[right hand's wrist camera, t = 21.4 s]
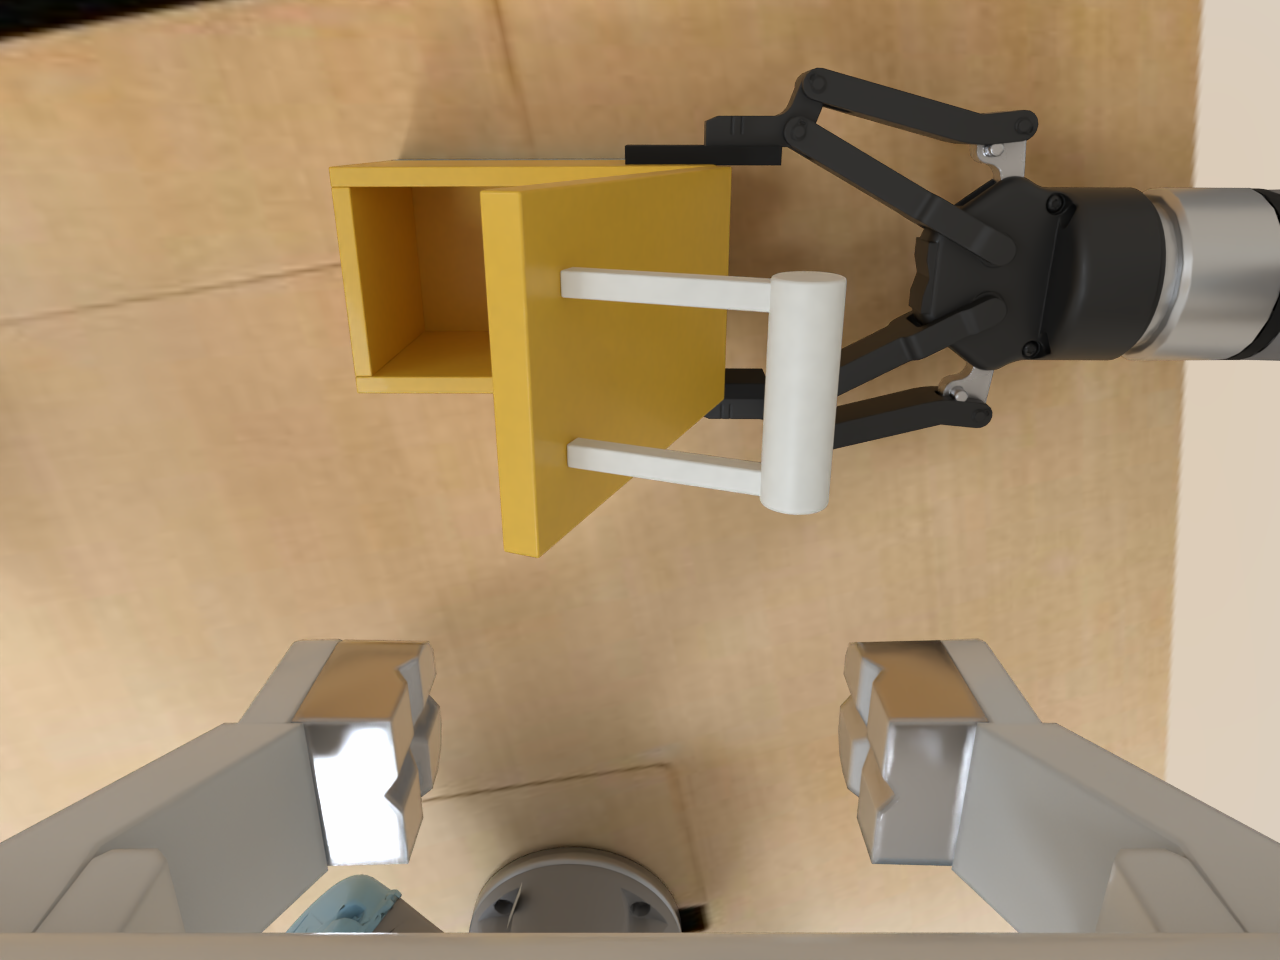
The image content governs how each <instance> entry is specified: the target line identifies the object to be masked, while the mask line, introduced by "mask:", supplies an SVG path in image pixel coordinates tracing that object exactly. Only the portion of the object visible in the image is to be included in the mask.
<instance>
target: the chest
mask: <svg viewBox="0 0 1280 960" xmlns="http://www.w3.org/2000/svg"><path fill="white" fill-rule="evenodd" d="M704 166H716V165H714V164H660V165H625V159H398V160H391V161H382V162H372V163H362V164H353V165H343V166H334V167H329V174H330V182H331V186H332V197H333V205H334V213H335V220H336V228H337V236H338V244H339V252H340V260H341V268H342V276H343V283H344V291H345V299H346V307H347V315H348V323H349V331H350V339H351V346H352V354H353V362H354V370H355V376H356V386H357V392H358V393H493V381H492V366H491V352H490V337H489V322H488V307H487V292H486V278H485V263H484V248H483V233H482V218H481V204H480V191H482V190H486V189H495V188H505V187H514V186H524V185H533V184H543V183H552V182H562V181H571V180H581V179H590V178H600V177H609V176H619V175H628V174H638V173H647V172H657V171H666V170H676V169H685V168H695V167H704Z"/></svg>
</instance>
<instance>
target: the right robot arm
mask: <svg viewBox="0 0 1280 960" xmlns="http://www.w3.org/2000/svg"><path fill="white" fill-rule="evenodd" d="M435 676H436V667H435V659H434V652H433V648H432V646H431V645H430V643H429V641H390V640H341V639H308V640H299V641H296V642H294V643H293V644H292V645H291V646H290V648H289V649H288V651H287V652H286V654H285V655H284V657H283V658H282V660H281V661H280V662H279V664H278V665H277V667H276V668H275V670H274V671H273V673H272V674H271V675H270V677H269V678H268V680H267V681H266V683H265V684H264V686H263V687H262V689H261V690H260V691H259V693H258V694H257V696H256V697H255V699H254V700H253V702H252V703H251V704H250V706H249V707H248V709H247V710H246V712H245V713H244V715H243V716H242V718H241V719H240V720H239V722H238V723H223V724H221V725H219V726H218V727H216V728H214V729H212V730H210V731H208V732H206V733H205V734H203V735H201V736H199V737H197V738H195V739H193V740H191V741H190V742H188V743H186V744H184V745H182V746H180V747H178V748H177V749H175V750H173V751H171V752H169V753H167V754H165V755H163V756H162V757H160V758H158V759H156V760H154V761H152V762H150V763H149V764H147V765H145V766H143V767H141V768H139V769H137V770H136V771H134V772H132V773H130V774H128V775H126V776H124V777H122V778H121V779H119V780H117V781H115V782H113V783H111V784H109V785H108V786H106V787H104V788H102V789H100V790H98V791H96V792H94V793H93V794H91V795H89V796H87V797H85V798H83V799H81V800H80V801H78V802H76V803H74V804H72V805H70V806H68V807H66V808H65V809H63V810H61V811H59V812H57V813H55V814H53V815H52V816H50V817H48V818H46V819H44V820H42V821H40V822H38V823H37V824H35V825H33V826H31V827H29V828H27V829H25V830H24V831H22V832H20V833H18V834H16V835H14V836H12V837H10V838H9V839H7V840H5V841H3V842H1V843H0V960H1280V843H1278V842H1276V841H1274V840H1273V839H1271V838H1269V837H1267V836H1265V835H1263V834H1261V833H1260V832H1258V831H1256V830H1254V829H1252V828H1250V827H1248V826H1246V825H1245V824H1243V823H1241V822H1239V821H1237V820H1235V819H1233V818H1232V817H1230V816H1228V815H1226V814H1224V813H1222V812H1220V811H1219V810H1217V809H1215V808H1213V807H1211V806H1209V805H1207V804H1206V803H1204V802H1202V801H1200V800H1198V799H1196V798H1194V797H1192V796H1191V795H1189V794H1187V793H1185V792H1183V791H1181V790H1180V789H1178V788H1176V787H1174V786H1172V785H1170V784H1168V783H1167V782H1165V781H1163V780H1161V779H1159V778H1157V777H1155V776H1153V775H1152V774H1150V773H1148V772H1146V771H1144V770H1142V769H1140V768H1139V767H1137V766H1135V765H1133V764H1131V763H1129V762H1127V761H1126V760H1124V759H1122V758H1120V757H1118V756H1116V755H1114V754H1113V753H1111V752H1109V751H1107V750H1105V749H1103V748H1101V747H1100V746H1098V745H1096V744H1094V743H1092V742H1090V741H1088V740H1087V739H1085V738H1083V737H1081V736H1079V735H1077V734H1075V733H1074V732H1072V731H1070V730H1068V729H1066V728H1064V727H1062V726H1060V725H1059V724H1057V723H1042V722H1041V721H1040V719H1039V718H1038V716H1037V715H1036V713H1035V712H1034V710H1033V709H1032V708H1031V706H1030V705H1029V703H1028V702H1027V700H1026V699H1025V698H1024V696H1023V695H1022V693H1021V692H1020V690H1019V689H1018V688H1017V686H1016V685H1015V683H1014V682H1013V680H1012V679H1011V677H1010V676H1009V675H1008V673H1007V672H1006V670H1005V669H1004V667H1003V666H1002V665H1001V663H1000V662H999V660H998V659H997V657H996V656H995V655H994V653H993V652H992V650H991V649H990V647H989V646H988V644H987V643H986V642H984V641H982V640H980V639H957V640H932V641H892V642H854V643H849V645H848V649H847V652H846V657H845V666H844V676H845V679H846V682H847V685H848V687H849V690H850V693H851V695H850V696H849V697H848V699H847V700H846V701H845V702H844V703H843V704H842V705H841V706H840V717H839V754H840V760H841V765H842V771H843V775H844V778H845V781H846V785H847V788H848V789H849V790H850V791H851V792H853V793H854V794H855V795H857V796H858V797H859V801H858V811H857V820H858V823H859V826H860V829H861V832H862V835H863V838H864V841H865V844H866V847H867V850H868V853H869V856H870V859H871V862H872V864H903V865H939V866H952V870H953V871H954V872H955V873H956V874H957V875H958V876H959V877H960V878H961V879H962V880H963V881H964V882H965V883H967V884H968V885H969V886H970V887H971V888H972V889H973V890H974V891H975V892H976V893H977V894H978V895H979V896H980V897H981V898H982V899H984V900H985V901H986V902H987V903H988V904H989V905H990V906H991V907H992V908H993V909H994V910H995V911H996V912H997V913H998V914H999V915H1001V916H1002V917H1003V918H1004V919H1005V920H1006V921H1007V922H1008V923H1009V924H1010V925H1011V926H1012V927H1013V928H1014V929H1015V930H1016V931H1017V932H1019V933H262V932H263V931H264V930H265V929H266V928H267V927H268V926H269V925H270V924H271V923H272V922H273V921H275V920H276V919H277V918H278V917H279V916H280V915H281V914H282V913H283V912H284V911H285V910H286V909H287V908H288V907H289V906H291V905H292V904H293V903H294V902H295V901H296V900H297V899H298V898H299V897H300V896H301V895H302V894H303V893H304V892H305V891H306V890H308V889H309V888H310V887H311V886H312V885H313V884H314V883H315V882H316V881H317V880H318V879H319V878H320V877H321V876H322V875H324V874H325V873H326V872H327V871H328V866H340V865H375V864H408V863H409V860H410V857H411V853H412V850H413V847H414V844H415V841H416V838H417V835H418V832H419V829H420V826H421V823H422V820H423V811H422V802H421V797H422V796H423V795H425V794H426V793H427V792H429V791H430V790H431V789H432V788H433V785H434V781H435V778H436V774H437V771H438V765H439V758H440V750H441V715H440V706H439V705H438V704H437V703H436V702H435V701H434V700H433V699H432V697H431V696H430V695H429V693H430V690H431V687H432V685H433V682H434V679H435Z"/></svg>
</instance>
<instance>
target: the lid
mask: <svg viewBox="0 0 1280 960" xmlns="http://www.w3.org/2000/svg"><path fill="white" fill-rule="evenodd" d="M731 174H732V168H731V167H726V166H704V167H695V168H685V169H676V170H666V171H657V172H647V173H638V174H628V175H619V176H609V177H600V178H590V179H581V180H571V181H562V182H552V183H543V184H533V185H524V186H514V187H505V188H495V189H486V190H482V191H480V204H481V218H482V233H483V248H484V263H485V278H486V292H487V307H488V322H489V337H490V352H491V366H492V381H493V396H494V411H495V426H496V440H497V455H498V470H499V485H500V500H501V514H502V529H503V544H504V551H505V552H510V553H515V554H520V555H525V556H530V557H535V558H539V557H541V556H542V555H543V554H544V553H545V552H547V551H548V550H549V549H550V548H551V547H552V546H553V545H555V544H556V543H557V542H558V541H559V540H560V539H562V538H563V537H564V536H565V535H566V534H567V533H569V532H570V531H571V530H572V529H573V528H574V527H576V526H577V525H578V524H579V523H580V522H581V521H583V520H584V519H585V518H586V517H587V516H588V515H590V514H591V513H592V512H593V511H594V510H595V509H597V508H598V507H599V506H600V505H601V504H602V503H604V502H605V501H606V500H607V499H608V498H609V497H611V496H612V495H613V494H614V493H615V492H616V491H618V490H619V489H620V488H621V487H622V486H623V485H624V484H626V483H627V482H628V481H629V480H630V479H631V478H633V477H637V478H644V479H651V480H657V481H664V482H671V483H677V484H684V485H690V486H697V487H704V488H710V489H717V490H723V491H730V492H737V493H743V494H750V495H757V496H759V498H760V501H761V503H762V504H763V505H764V506H765V507H766V508H768V509H770V510H773V511H776V512H780V513H784V514H793V515H805V514H812V513H817V512H819V511H822V510H823V509H825V508H826V506H827V505H828V502H829V489H830V477H831V465H832V453H833V441H834V429H835V417H836V405H837V393H838V381H839V369H840V357H841V345H842V333H843V321H844V309H845V297H846V285H847V280H846V278H845V277H844V276H842V275H839V274H835V273H828V272H816V271H792V272H782V273H778V274H775V275H773V276H772V277H771V278H754V277H737V276H728V264H729V234H730V204H731ZM727 309H728V310H742V311H756V312H769V321H768V340H767V360H766V379H765V399H764V418H763V438H762V457H761V463H760V462H753V461H746V460H738V459H731V458H724V457H716V456H709V455H702V454H694V453H687V452H680V451H672V450H665V449H666V448H668V447H669V446H670V445H671V444H672V443H673V442H675V441H676V440H677V439H678V438H679V437H680V436H682V435H683V434H684V433H685V432H686V431H687V430H689V429H690V428H691V427H692V426H693V425H694V424H696V423H697V422H698V421H699V420H700V419H701V418H702V417H704V416H705V415H706V414H707V413H708V412H709V411H711V410H712V409H713V408H714V407H715V406H716V405H718V404H719V403H720V402H721V401H722V400H723V399H724V384H725V354H726V324H727Z"/></svg>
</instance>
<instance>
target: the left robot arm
mask: <svg viewBox="0 0 1280 960" xmlns="http://www.w3.org/2000/svg"><path fill="white" fill-rule="evenodd" d="M822 107H825V108H829V109H832V110H836V111H839V112H843V113H846V114H850V115H853V116H857V117H860V118H864V119H867V120H871V121H874V122H878V123H881V124H885V125H888V126H892V127H895V128H899V129H902V130H906V131H909V132H913V133H916V134H920V135H923V136H927V137H930V138H934V139H937V140H941V141H945V142H950V143H957V144H970V155H971V158H972V159H973V160H974V161H976V162H978V163H983V164H986V165H988V166H989V167H990V168H991V169H992V172H993V179H991V180H990V181H988V182H987V183H985V184H984V185H982V186H981V187H979V188H978V189H977V190H975V191H974V192H972V193H971V194H969V195H968V196H966V197H965V198H963V199H962V200H961V201H959V202H958V203H956V204H955V205H953V204H951V203H949V202H948V201H946V200H944V199H943V198H941V197H939V196H937V195H935V194H933V193H931V192H929V191H927V190H926V189H924V188H922V187H921V186H919V185H917V184H916V183H914V182H912V181H911V180H909V179H907V178H906V177H904V176H902V175H901V174H899V173H897V172H896V171H894V170H892V169H891V168H889V167H887V166H886V165H884V164H882V163H881V162H879V161H877V160H876V159H874V158H872V157H871V156H869V155H867V154H866V153H864V152H862V151H861V150H859V149H857V148H856V147H854V146H852V145H851V144H849V143H847V142H846V141H844V140H842V139H841V138H839V137H837V136H836V135H834V134H832V133H831V132H829V131H827V130H826V129H824V128H822V127H821V126H819V125H817V124H816V122H817V119H818V117H819V114H820V112H821V109H822ZM1037 127H1038V118H1037V117H1036V115H1035V114H1034V113H1033V112H1031V111H1028V110H1016V111H1000V112H991V113H981V114H980V113H976V112H973V111H969V110H966V109H963V108H959V107H956V106H952V105H949V104H945V103H942V102H938V101H935V100H931V99H928V98H924V97H921V96H917V95H914V94H911V93H907V92H904V91H900V90H897V89H893V88H890V87H886V86H883V85H879V84H876V83H872V82H869V81H866V80H862V79H859V78H855V77H852V76H848V75H845V74H841V73H838V72H834V71H831V70H827V69H824V68H815V69H812V70H809V71H807V72H805V73H802V74H801V75H800V76H799V77H798V78H797V80H796V82H795V88H794V91H793V94H792V96H791V99H790V101H789V104H788V105H787V107H786V109H785V110H784V111H783V112H782V113H780V114H778V115H776V116H716V117H714V118H712V119H709V120H707V121H705V129H704V145H626V146H625V165H660V164H714V165H781V156H782V147H788V148H790V149H792V150H793V151H795V152H797V153H798V154H800V155H802V156H803V157H805V158H807V159H808V160H810V161H812V162H814V163H815V164H817V165H819V166H820V167H822V168H824V169H825V170H827V171H829V172H830V173H832V174H834V175H835V176H837V177H839V178H841V179H842V180H844V181H846V182H847V183H849V184H851V185H852V186H854V187H856V188H857V189H859V190H861V191H862V192H864V193H866V194H868V195H869V196H871V197H873V198H874V199H876V200H878V201H879V202H881V203H883V204H884V205H886V206H888V207H890V208H891V209H893V210H895V211H896V212H898V213H899V214H901V215H902V216H904V217H905V218H907V219H909V220H910V221H912V222H914V223H915V224H917V225H919V226H920V227H922V228H924V230H923V232H922V234H921V237H916V246H915V261H916V268H917V274H916V276H915V279H914V281H913V284H912V287H911V290H910V299H909V306H910V307H912V311H910V312H908V313H906V314H904V315H902V316H900V317H898V318H896V319H895V320H893V321H892V322H890V324H889V325H888V326H887V327H885V328H883V329H881V330H879V331H877V332H875V333H873V334H871V335H869V336H867V337H865V338H863V339H861V340H859V341H857V342H855V343H853V344H851V345H849V346H847V347H845V348H843V349H841V357H840V369H839V381H838V393H837V396H839V395H841V394H843V393H845V392H847V391H849V390H851V389H853V388H855V387H857V386H859V385H862V384H864V383H866V382H868V381H870V380H872V379H874V378H876V377H878V376H880V375H882V374H884V373H886V372H888V371H890V370H892V369H894V368H896V367H898V366H900V365H902V364H905V363H907V362H909V361H912V360H920V359H923V358H925V357H928V356H930V355H932V354H934V353H936V352H938V351H940V350H942V349H944V348H946V347H949V348H950V349H951V350H953V351H954V352H955V353H956V354H958V355H959V356H960V357H961V358H963V359H964V360H965V361H967V364H966V366H965V368H964V369H963V370H962V371H961V372H960V373H958V374H955V375H949V376H946V377H944V378H943V379H942V380H941V381H940V383H939V386H928V387H919V388H913V389H909V390H905V391H900V392H896V393H892V394H888V395H883V396H879V397H875V398H871V399H867V400H862V401H858V402H854V403H850V404H845V405H841V406H837V407H836V417H835V429H834V441H833V449H837V448H841V447H845V446H850V445H854V444H858V443H863V442H867V441H871V440H876V439H880V438H884V437H888V436H893V435H897V434H901V433H906V432H910V431H914V430H919V429H923V428H927V427H932V426H936V425H940V424H941V425H951V426H962V427H972V428H981V427H983V426H986V425H987V424H988V423H989V422H990V420H991V418H992V410H991V408H990V407H989V406H988V405H987V404H986V399H987V395H988V391H989V387H990V383H991V379H992V375H993V372H994V370H996V369H999V368H1001V367H1003V366H1005V365H1007V364H1009V363H1011V362H1015V361H1019V360H1112V359H1115V358H1118V357H1120V356H1122V357H1124V358H1126V359H1128V360H1277V361H1280V190H1265V189H1251V188H1151V189H1148V190H1146V191H1144V192H1141V191H1139V190H1137V189H1134V188H1079V187H1041V186H1038V185H1036V184H1035V183H1033V182H1032V181H1030V180H1029V179H1027V178H1024V170H1025V154H1026V140H1028V139H1030V138H1031V137H1032V136H1033V135H1034V134H1035V132H1036V131H1037ZM765 379H766V376H765V374H764V372H763V369H725V384H724V399H723V400H722V401H721V402H720V403H719V404H718V405H716V406H715V407H714V408H713V409H712V410H711V411H709V412H708V413H707V414H706V415H705V416H704V417H706V418H709V419H721V418H722V419H763V418H764V399H765ZM401 895H402V894H401V893H400V892H399V891H398V890H390V889H389V888H387V887H386V886H384V885H383V884H382V883H380V882H379V881H377V880H376V879H374V878H373V877H370V876H368V875H354V876H351V877H348V878H346V879H344V880H342V881H340V882H338V883H337V884H335V885H334V886H333V887H331V888H330V889H329V890H327V891H326V892H325V893H324V894H323V895H321V896H320V897H319V898H318V899H317V900H316V901H315V902H314V903H313V904H312V905H311V906H310V907H309V908H308V909H307V910H306V911H305V912H304V913H303V914H302V915H301V916H300V917H299V918H298V919H297V920H296V921H295V922H294V924H293V925H292V926H291V927H290V928H289V929H288V930H287V931H286V933H444V932H443V931H441V930H440V929H439V928H438V927H436V926H435V925H434V924H432V923H431V922H430V921H429V920H427V919H426V918H425V917H424V916H422V915H421V914H420V913H419V912H417V911H416V910H415V909H414V908H412V907H411V906H410V905H409V904H407V903H406V902H405V901H404V900H402V899H401V898H400V897H401ZM469 933H682V931H681V918H680V913H679V910H678V907H677V905H676V902H675V900H674V898H673V897H672V895H671V893H670V892H669V890H668V889H667V888H666V887H665V885H664V884H663V883H662V882H661V881H660V880H659V879H658V878H657V877H656V876H655V875H653V874H652V873H651V872H650V871H648V870H647V869H645V868H644V867H642V866H641V865H639V864H637V863H635V862H634V861H631V860H629V859H627V858H625V857H622V856H620V855H617V854H614V853H610V852H607V851H602V850H598V849H591V848H581V847H563V848H553V849H547V850H542V851H538V852H535V853H531V854H529V855H526V856H523V857H521V858H519V859H517V860H515V861H513V862H511V863H509V864H508V865H506V866H505V867H503V868H502V869H500V870H499V871H498V872H497V873H496V874H495V875H493V876H492V877H491V879H490V880H489V881H488V882H487V883H486V884H485V886H484V887H483V889H482V890H481V892H480V894H479V896H478V898H477V901H476V903H475V908H474V912H473V916H472V920H471V924H470V930H469Z"/></svg>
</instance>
